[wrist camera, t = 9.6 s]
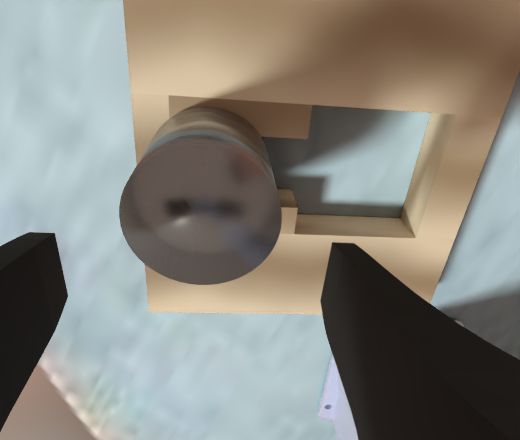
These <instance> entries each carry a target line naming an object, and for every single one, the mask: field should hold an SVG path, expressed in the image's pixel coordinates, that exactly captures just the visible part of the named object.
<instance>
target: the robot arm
mask: <svg viewBox="0 0 520 440" xmlns="http://www.w3.org/2000/svg"><path fill="white" fill-rule="evenodd" d="M67 297H68V294H67V289H66V284H65V280H64V275H63V270H62V266H61V261H60V256H59V252H58V247H57V242H56V237H55V233H34V232H29V233H27V234H24V235H22V236H20V237H18V238H16V239H14V240H12V241H10V242H8V243H6V244H4V245H2V246H0V431H1V429H2V427H3V425H4V423H5V422H6V420H7V418H8V416H9V414H10V412H11V410H12V408H13V406H14V404H15V403H16V401H17V399H18V397H19V395H20V394H21V392H22V390H23V388H24V386H25V385H26V383H27V381H28V379H29V377H30V376H31V374H32V372H33V370H34V368H35V367H36V365H37V363H38V361H39V359H40V358H41V356H42V354H43V352H44V350H45V348H46V347H47V345H48V343H49V341H50V339H51V337H52V335H53V333H54V331H55V329H56V327H57V324H58V322H59V319H60V317H61V314H62V311H63V308H64V306H65V303H66V300H67ZM320 302H321V308H322V314H323V319H324V325H325V330H326V334H327V338H328V341H329V344H330V347H331V350H332V357H331V361H330V365H329V369H328V373H327V377H326V381H325V385H324V389H323V393H322V397H321V402H320V406H319V410H318V414H319V417H320V418H321V419H324V420H333V423H334V427H335V431H336V435H337V439H338V440H520V360H519V359H517V358H515V357H513V356H511V355H510V354H508V353H506V352H504V351H502V350H501V349H499V348H497V347H495V346H494V345H492V344H490V343H488V342H487V341H485V340H483V339H482V338H480V337H479V336H477V335H476V334H474V333H472V332H471V331H469V330H468V329H466V328H465V327H464V325H463V324H462V322H460V321H457V320H452V319H451V318H449V317H448V316H446V315H445V314H443V313H442V312H441V311H439V310H438V309H436V308H435V307H434V306H432V305H431V304H430V303H428V302H427V301H426V300H424V299H423V298H421V297H420V296H419V295H418V294H416V293H415V292H414V291H412V290H411V289H410V288H409V287H407V286H406V285H405V284H404V283H402V282H401V281H400V280H399V279H397V278H396V277H395V276H394V275H393V274H391V273H390V272H389V271H388V270H387V269H385V268H384V267H383V266H382V265H381V264H379V263H378V262H377V261H376V260H375V259H373V258H372V257H371V256H370V255H369V254H368V253H366V252H365V251H364V250H363V249H361V248H360V247H359V246H357V245H356V244H355V243H337V242H332V245H331V250H330V255H329V260H328V265H327V270H326V275H325V280H324V285H323V290H322V295H321V300H320Z"/></svg>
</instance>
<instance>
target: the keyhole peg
mask: <svg viewBox="0 0 520 440" xmlns="http://www.w3.org/2000/svg"><path fill="white" fill-rule="evenodd" d="M119 217H120V224H121V228H122V231H123V234H124V237H125V239H126V241H127V243H128V245H129V246H130V248H131V249H132V251H133V252H134V253H135V254H136V256H137V257H138V258H139V259H140V260H141V261H142V262H143V263H144V264H145V265H147V266H148V267H149V268H151V269H152V270H154V271H155V272H157V273H159V274H161V275H163V276H165V277H167V278H169V279H172V280H175V281H178V282H182V283H187V284H195V285H213V284H220V283H225V282H229V281H232V280H235V279H238V278H240V277H242V276H244V275H246V274H248V273H249V272H251V271H253V270H254V269H255V268H257V267H258V266H259V265H260V264H261V263H262V262H263V261H264V260H265V259H266V258H267V257H268V256H269V254H270V253H271V252H272V250H273V248H274V246H275V245H276V242H277V240H278V238H279V234H280V230H281V224H282V209H281V205H280V200H279V196H278V192H277V188H276V183H275V179H274V175H273V171H272V167H271V163H270V159H269V155H268V151H267V148H266V145H265V143H264V141H263V139H262V137H261V136H260V134H259V133H258V131H257V130H256V129H255V128H254V127H253V126H252V125H251V124H250V123H249V122H248V121H247V120H245V119H244V118H242V117H241V116H239V115H237V114H235V113H233V112H231V111H228V110H225V109H222V108H216V107H196V108H191V109H187V110H185V111H182V112H179V113H178V114H176V115H174V116H172V117H171V118H170V119H168V120H167V121H166V122H165V123H164V124H163V125H162V126H161V127H160V128H159V129H158V131H157V132H156V134H155V135H154V137H153V139H152V140H151V142H150V144H149V146H148V147H147V149H146V151H145V152H144V154H143V156H142V158H141V159H140V161H139V163H138V164H137V166H136V168H135V170H134V171H133V173H132V175H131V176H130V178H129V180H128V182H127V184H126V186H125V188H124V190H123V193H122V196H121V201H120V209H119Z"/></svg>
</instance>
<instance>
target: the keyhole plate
mask: <svg viewBox="0 0 520 440" xmlns="http://www.w3.org/2000/svg"><path fill="white" fill-rule="evenodd" d="M123 5H124V17H125V29H126V41H127V53H128V65H129V77H130V89H131V101H132V113H133V125H134V137H135V149H136V162H137V164H138V163H139V161H140V159H141V158H142V156H143V154H144V152H145V151H146V149H147V147H148V146H149V144H150V142H151V140H152V139H153V137H154V135H155V134H156V132H157V131H158V129H159V128H160V127H161V126H162V125H163V124H164V123H165V122H166V121H167V120H168V119H170V118H171V117H172V116H174V115H176V114H178V113H179V112H182V111H185V110H187V109H191V108H196V107H216V108H222V109H225V110H228V111H231V112H233V113H235V114H237V115H239V116H241V117H242V118H244V119H245V120H247V121H248V122H249V123H250V124H251V125H252V126H253V127H254V128H255V129H256V130H257V131H258V133H259V134H260V136H261V137H276V138H293V139H308V135H309V128H310V121H311V114H312V107H313V105H322V106H337V107H352V108H367V109H382V110H397V111H412V112H427V113H431V115H430V119H429V122H428V125H427V129H426V132H425V135H424V139H423V142H422V146H421V149H420V152H419V156H418V159H417V163H416V166H415V169H414V173H413V176H412V179H411V183H410V186H409V190H408V193H407V196H406V200H405V203H404V207H403V210H402V213H401V217H400V218H381V217H355V216H329V215H304V214H297V211H298V207H297V203H296V200H295V197H294V194H293V191H292V189H277V192H278V196H279V200H280V205H281V209H282V224H281V230H280V234H279V238H278V240H277V242H276V245H275V246H274V248H273V250H272V252H271V253H270V254H269V256H268V257H267V258H266V259H265V260H264V261H263V262H262V263H261V264H260V265H259V266H258V267H257V268H255V269H254V270H253V271H251V272H249V273H248V274H246V275H244V276H242V277H240V278H238V279H235V280H232V281H229V282H225V283H220V284H213V285H195V284H187V283H182V282H178V281H175V280H172V279H169V278H167V277H165V276H163V275H161V274H159V273H157V272H155V271H154V270H152V269H151V268H149V267H148V266H147V265H145V270H146V282H147V294H148V306H149V312H188V313H262V314H322V308H321V302H320V300H321V295H322V290H323V285H324V280H325V275H326V270H327V265H328V260H329V255H330V250H331V245H332V242H337V243H355V244H356V245H357V246H359V247H360V248H361V249H363V250H364V251H365V252H366V253H368V254H369V255H370V256H371V257H372V258H373V259H375V260H376V261H377V262H378V263H379V264H381V265H382V266H383V267H384V268H385V269H387V270H388V271H389V272H390V273H391V274H393V275H394V276H395V277H396V278H397V279H399V280H400V281H401V282H402V283H404V284H405V285H406V286H407V287H409V288H410V289H411V290H412V291H414V292H415V293H416V294H418V295H419V296H420V297H421V298H423V299H424V300H426V301H427V302H428V303H430V302H431V300H432V297H433V294H434V292H435V289H436V287H437V284H438V281H439V279H440V276H441V274H442V271H443V269H444V266H445V263H446V261H447V258H448V256H449V253H450V250H451V248H452V245H453V243H454V240H455V238H456V235H457V232H458V230H459V227H460V225H461V222H462V219H463V217H464V214H465V212H466V209H467V207H468V204H469V201H470V199H471V196H472V194H473V191H474V188H475V186H476V183H477V181H478V178H479V176H480V173H481V170H482V168H483V165H484V163H485V160H486V157H487V155H488V152H489V150H490V147H491V145H492V142H493V139H494V137H495V134H496V132H497V129H498V126H499V124H500V121H501V119H502V116H503V114H504V111H505V108H506V106H507V103H508V101H509V98H510V95H511V93H512V90H513V88H514V85H515V83H516V80H517V77H518V75H519V72H520V0H123Z"/></svg>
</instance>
